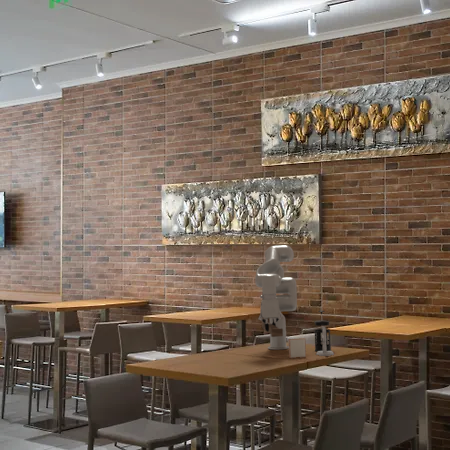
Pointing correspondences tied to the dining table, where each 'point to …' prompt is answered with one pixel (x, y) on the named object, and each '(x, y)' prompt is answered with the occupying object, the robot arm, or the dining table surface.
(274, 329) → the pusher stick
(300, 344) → the tile
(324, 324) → the french press
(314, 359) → the dining table surface
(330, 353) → the black and grey stand
